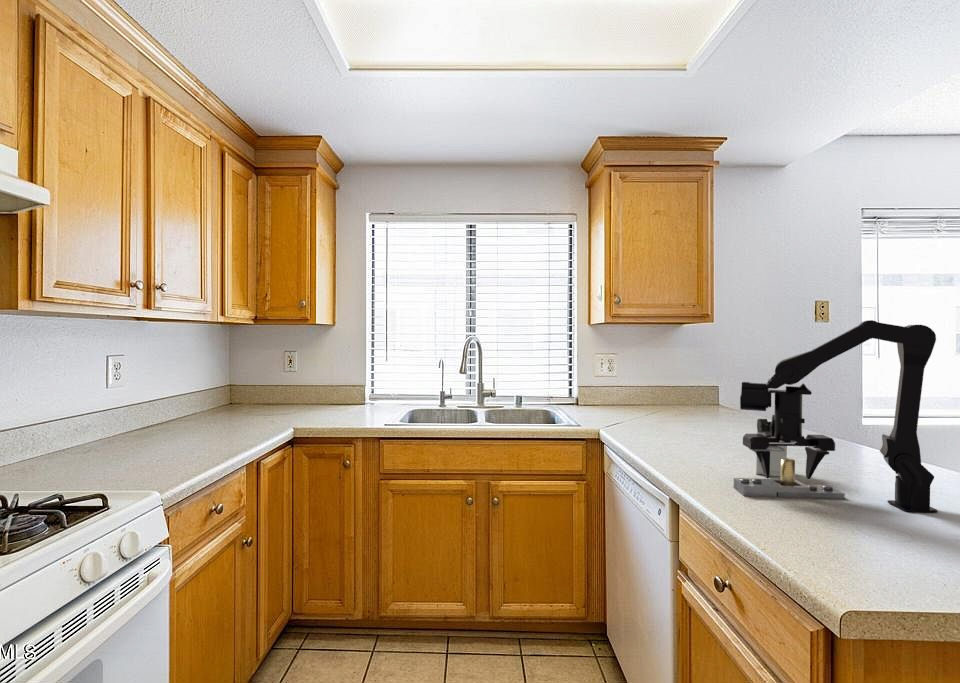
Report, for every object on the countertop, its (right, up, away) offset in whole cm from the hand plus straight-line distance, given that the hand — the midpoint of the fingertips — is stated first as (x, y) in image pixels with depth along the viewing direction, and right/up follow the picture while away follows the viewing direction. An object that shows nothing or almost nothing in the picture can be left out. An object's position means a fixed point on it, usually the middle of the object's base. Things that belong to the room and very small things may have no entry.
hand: (787, 478), depth 133 cm
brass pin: (0, -4, 0) cm, 4 cm away
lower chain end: (+4, -4, 0) cm, 5 cm away
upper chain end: (-4, -3, +1) cm, 5 cm away
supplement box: (+6, -3, +19) cm, 20 cm away
